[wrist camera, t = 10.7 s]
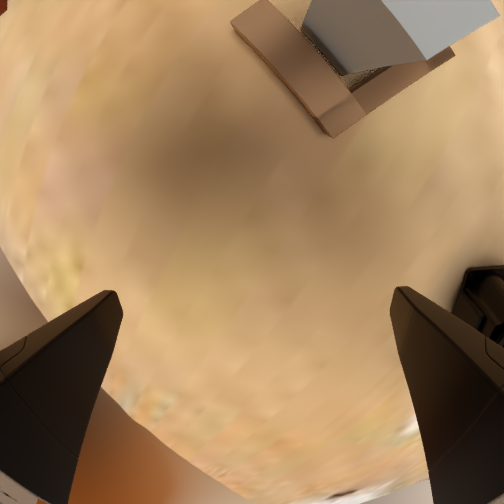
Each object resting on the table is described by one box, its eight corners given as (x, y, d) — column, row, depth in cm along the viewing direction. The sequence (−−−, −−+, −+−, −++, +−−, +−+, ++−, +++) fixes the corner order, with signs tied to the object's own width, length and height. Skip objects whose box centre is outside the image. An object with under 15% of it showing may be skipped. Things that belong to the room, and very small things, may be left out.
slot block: (437, 58, 15) (455, 55, 12) (325, 134, 18) (333, 138, 16) (355, -41, 12) (365, -55, 9) (235, 31, 15) (229, 21, 13)
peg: (386, 46, 15) (500, 15, 4) (341, 75, 16) (426, 60, 6) (346, 0, 13) (420, -82, 3) (300, 29, 15) (331, -49, 5)
